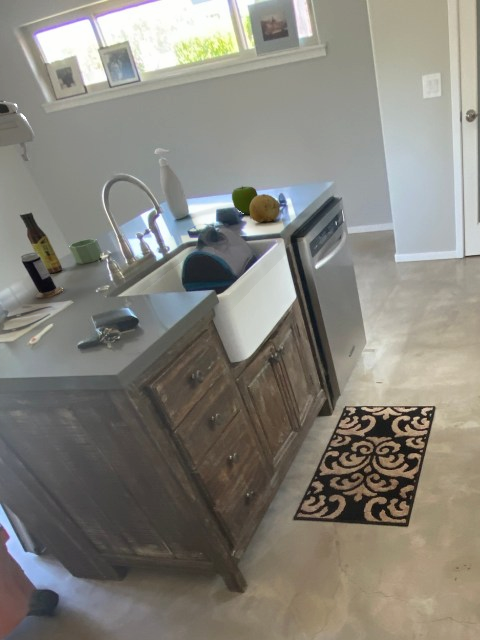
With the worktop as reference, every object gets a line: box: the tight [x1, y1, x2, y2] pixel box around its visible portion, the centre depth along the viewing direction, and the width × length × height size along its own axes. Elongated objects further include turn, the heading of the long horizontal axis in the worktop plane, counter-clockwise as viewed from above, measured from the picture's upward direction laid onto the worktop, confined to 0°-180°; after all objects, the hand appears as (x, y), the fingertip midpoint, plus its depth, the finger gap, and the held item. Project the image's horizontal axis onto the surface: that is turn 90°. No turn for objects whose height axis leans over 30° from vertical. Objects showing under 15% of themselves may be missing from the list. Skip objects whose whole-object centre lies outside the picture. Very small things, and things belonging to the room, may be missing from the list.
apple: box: [231, 185, 259, 216], centre depth 228 cm, size 11×11×11 cm
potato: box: [249, 193, 281, 223], centre depth 212 cm, size 10×12×10 cm
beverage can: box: [20, 252, 57, 295], centre depth 173 cm, size 6×6×12 cm
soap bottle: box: [154, 147, 190, 220], centre depth 234 cm, size 14×8×27 cm, turn 169°
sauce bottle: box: [19, 211, 63, 274], centre depth 191 cm, size 6×6×20 cm
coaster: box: [35, 286, 65, 299], centre depth 177 cm, size 9×9×1 cm
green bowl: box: [68, 238, 103, 265], centre depth 203 cm, size 10×10×6 cm
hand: (12, 163), depth 165 cm, fingers open, 8 cm apart
